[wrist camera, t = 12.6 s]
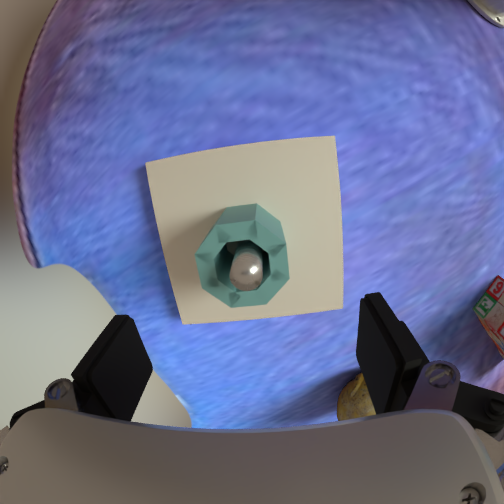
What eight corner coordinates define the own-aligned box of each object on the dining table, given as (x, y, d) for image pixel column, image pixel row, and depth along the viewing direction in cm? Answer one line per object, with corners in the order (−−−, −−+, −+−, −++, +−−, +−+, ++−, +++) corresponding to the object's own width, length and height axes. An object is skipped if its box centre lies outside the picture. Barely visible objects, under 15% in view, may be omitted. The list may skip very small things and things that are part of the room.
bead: (206, 210, 23) (188, 228, 18) (277, 200, 23) (283, 216, 17) (218, 275, 25) (206, 309, 20) (285, 267, 25) (291, 301, 19)
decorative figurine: (348, 411, 35) (369, 496, 21) (316, 389, 33) (334, 488, 19) (403, 374, 32) (443, 457, 18) (378, 346, 30) (424, 443, 16)
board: (153, 161, 24) (100, 169, 15) (329, 137, 23) (367, 129, 14) (187, 314, 29) (162, 374, 20) (338, 298, 28) (365, 357, 19)
